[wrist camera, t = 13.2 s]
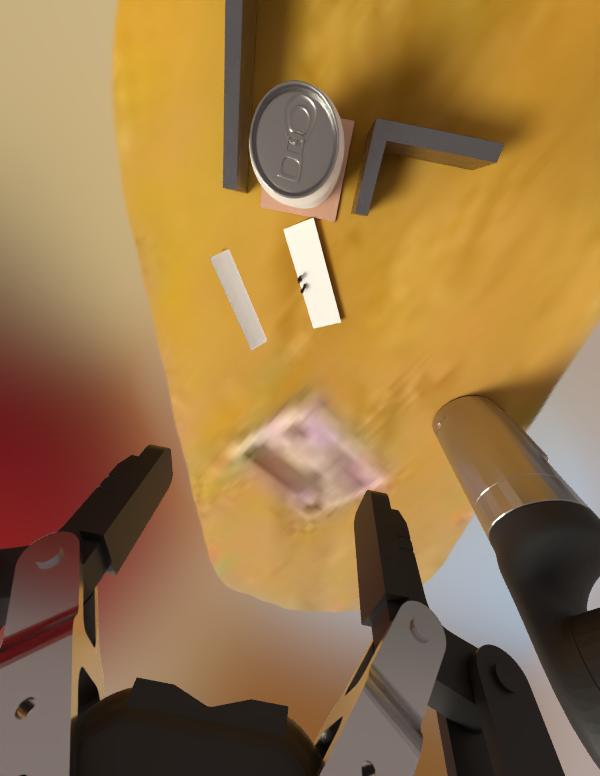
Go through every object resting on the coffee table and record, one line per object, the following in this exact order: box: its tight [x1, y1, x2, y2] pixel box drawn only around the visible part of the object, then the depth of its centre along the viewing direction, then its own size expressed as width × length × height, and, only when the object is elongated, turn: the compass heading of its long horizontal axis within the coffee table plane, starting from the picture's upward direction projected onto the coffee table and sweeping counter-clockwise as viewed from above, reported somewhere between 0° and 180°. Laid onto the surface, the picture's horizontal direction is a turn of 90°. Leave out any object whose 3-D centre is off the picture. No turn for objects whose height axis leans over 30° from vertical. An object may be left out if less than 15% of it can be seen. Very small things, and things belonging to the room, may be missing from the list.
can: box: [249, 80, 344, 209], centre depth 23 cm, size 6×6×12 cm
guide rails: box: [223, 0, 504, 216], centre depth 23 cm, size 23×19×4 cm
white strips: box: [210, 218, 341, 351], centre depth 34 cm, size 12×12×2 cm
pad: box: [261, 118, 355, 222], centre depth 28 cm, size 8×8×1 cm
